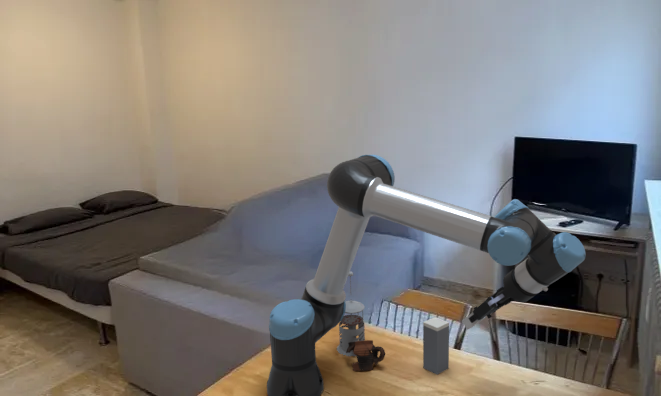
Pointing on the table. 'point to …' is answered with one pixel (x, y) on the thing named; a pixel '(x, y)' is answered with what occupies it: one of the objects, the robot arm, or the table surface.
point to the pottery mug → (365, 354)
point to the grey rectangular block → (436, 345)
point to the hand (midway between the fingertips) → (466, 324)
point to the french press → (351, 325)
